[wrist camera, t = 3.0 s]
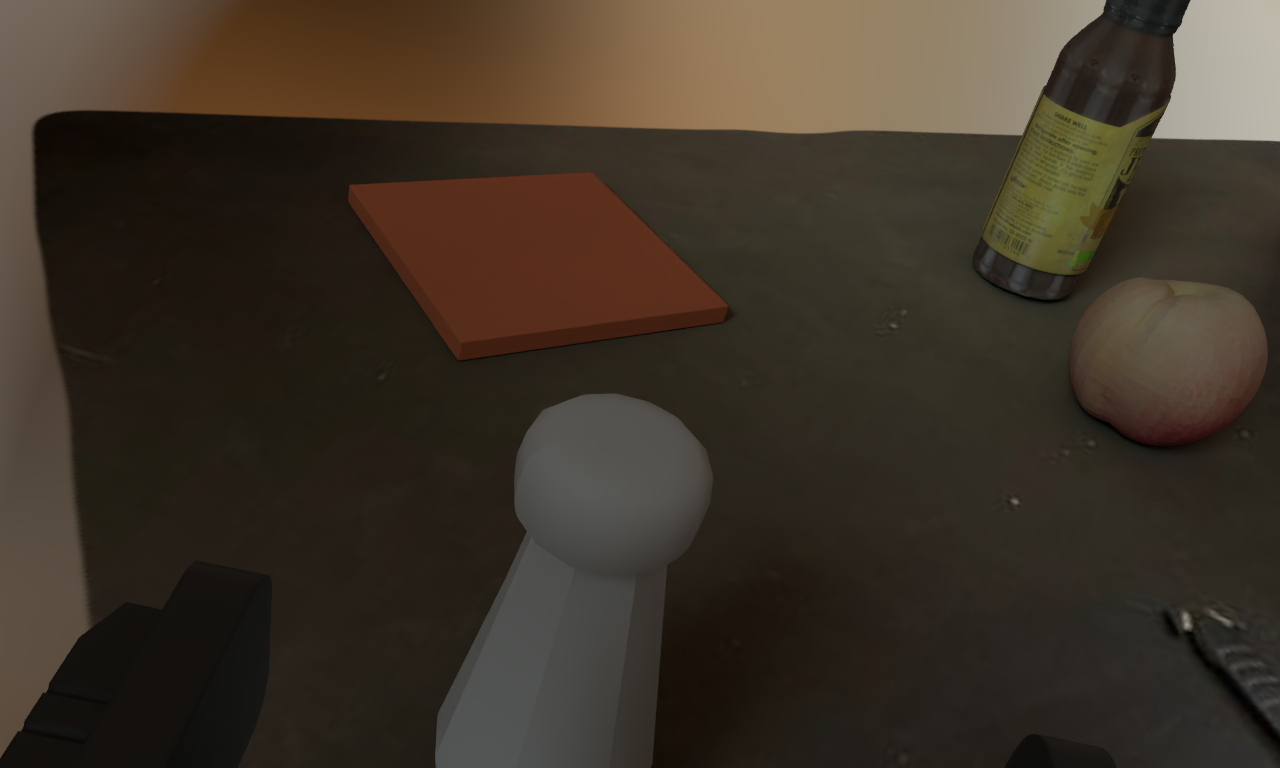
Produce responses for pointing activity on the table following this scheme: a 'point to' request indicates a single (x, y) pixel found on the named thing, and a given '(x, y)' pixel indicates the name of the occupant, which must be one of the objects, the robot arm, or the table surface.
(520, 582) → the salt shaker
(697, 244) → the table surface
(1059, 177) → the sauce bottle
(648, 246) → the mat
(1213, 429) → the fruit
